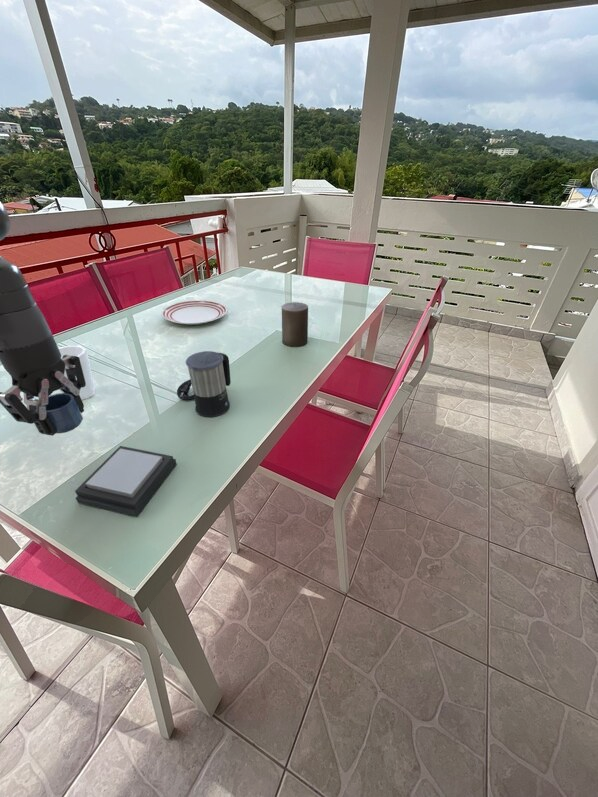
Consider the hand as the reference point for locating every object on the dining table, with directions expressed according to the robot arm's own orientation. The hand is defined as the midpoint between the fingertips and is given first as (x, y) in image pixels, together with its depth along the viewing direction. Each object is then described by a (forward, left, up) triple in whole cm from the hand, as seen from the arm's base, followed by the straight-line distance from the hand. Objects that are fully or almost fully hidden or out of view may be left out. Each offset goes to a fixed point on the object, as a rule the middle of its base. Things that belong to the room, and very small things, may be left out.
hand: (64, 422), depth 59 cm
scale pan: (+1, -8, -13) cm, 15 cm away
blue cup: (0, 0, -1) cm, 1 cm away
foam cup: (+26, +26, -16) cm, 41 cm away
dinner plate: (+89, +24, -16) cm, 94 cm away
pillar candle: (+76, -24, -16) cm, 82 cm away
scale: (+1, -8, -16) cm, 17 cm away
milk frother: (+31, -9, -16) cm, 36 cm away
